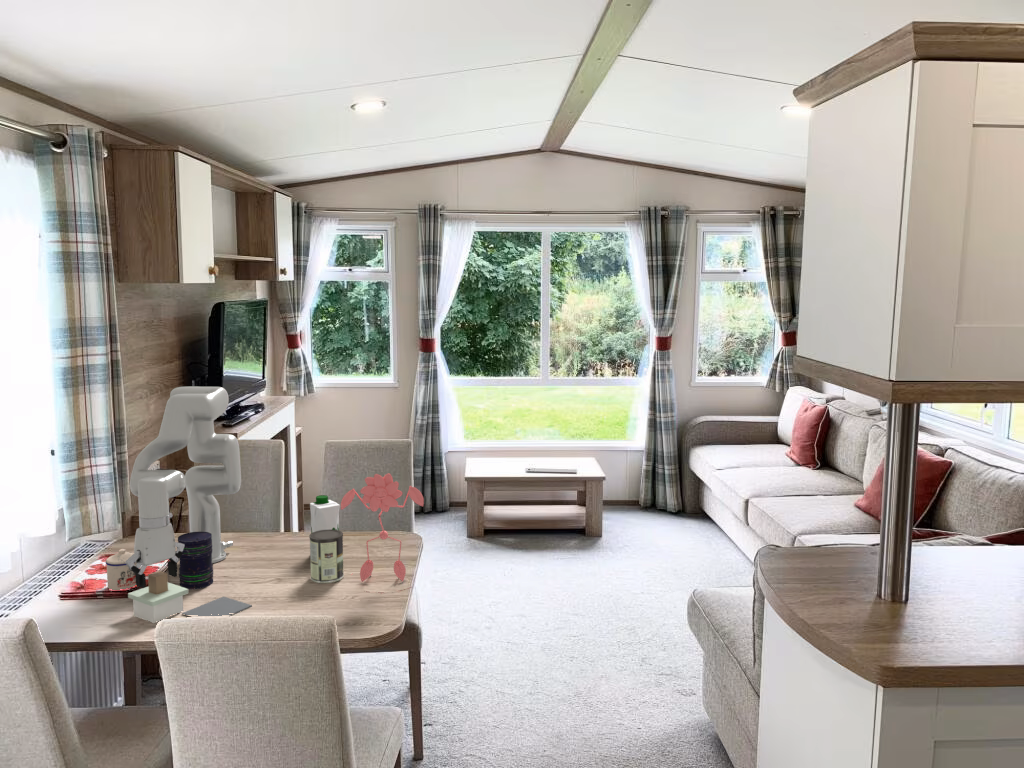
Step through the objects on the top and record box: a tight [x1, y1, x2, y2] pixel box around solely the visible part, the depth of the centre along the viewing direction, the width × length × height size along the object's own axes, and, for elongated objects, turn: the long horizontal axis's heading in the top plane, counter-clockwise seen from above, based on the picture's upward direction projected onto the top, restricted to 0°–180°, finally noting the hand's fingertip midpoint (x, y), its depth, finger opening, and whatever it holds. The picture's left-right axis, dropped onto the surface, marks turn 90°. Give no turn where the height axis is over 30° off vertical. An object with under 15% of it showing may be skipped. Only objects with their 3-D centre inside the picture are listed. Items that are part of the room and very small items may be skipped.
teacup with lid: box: [105, 548, 137, 590], centre depth 235 cm, size 12×9×12 cm
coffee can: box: [309, 529, 345, 584], centre depth 243 cm, size 10×10×14 cm
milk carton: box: [309, 494, 341, 534], centre depth 263 cm, size 9×9×20 cm
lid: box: [127, 570, 189, 607], centre depth 215 cm, size 11×11×6 cm
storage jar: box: [177, 531, 214, 591], centre depth 237 cm, size 10×10×15 cm
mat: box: [181, 596, 253, 616], centre depth 218 cm, size 14×12×1 cm
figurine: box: [340, 473, 425, 594], centre depth 237 cm, size 15×26×35 cm, turn 91°
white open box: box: [132, 595, 184, 624], centre depth 215 cm, size 9×9×6 cm
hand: (157, 581), depth 215 cm, fingers open, 9 cm apart
